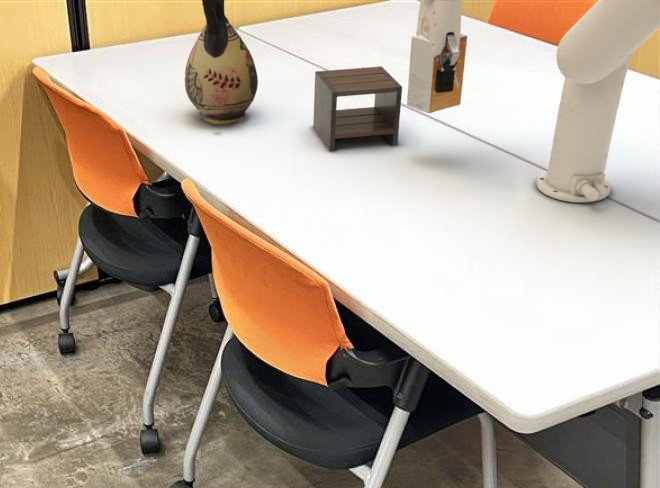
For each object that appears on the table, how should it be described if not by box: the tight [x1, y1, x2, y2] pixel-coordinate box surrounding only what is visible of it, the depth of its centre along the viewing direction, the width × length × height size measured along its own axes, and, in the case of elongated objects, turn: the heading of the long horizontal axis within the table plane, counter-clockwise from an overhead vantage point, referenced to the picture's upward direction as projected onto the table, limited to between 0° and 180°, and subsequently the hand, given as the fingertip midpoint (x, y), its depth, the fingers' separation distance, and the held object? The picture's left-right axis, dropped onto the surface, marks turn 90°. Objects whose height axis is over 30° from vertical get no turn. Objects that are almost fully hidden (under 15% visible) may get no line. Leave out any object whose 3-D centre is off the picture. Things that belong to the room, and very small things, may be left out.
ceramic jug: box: [184, 0, 259, 126], centre depth 203 cm, size 17×15×30 cm
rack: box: [312, 66, 403, 152], centre depth 197 cm, size 13×14×12 cm
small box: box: [406, 33, 468, 114], centre depth 181 cm, size 8×6×13 cm
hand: (435, 83), depth 182 cm, fingers closed on small box, 8 cm apart
